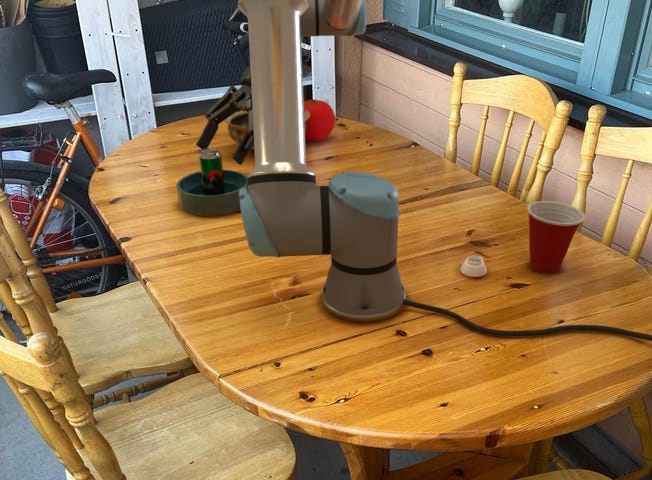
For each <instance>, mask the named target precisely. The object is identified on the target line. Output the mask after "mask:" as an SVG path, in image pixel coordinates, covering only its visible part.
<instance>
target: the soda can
mask: <svg viewBox="0 0 652 480" xmlns="http://www.w3.org/2000/svg"><path fill="white" fill-rule="evenodd" d="M199 153H200V154H199V156H198V160H199V167H200V171H201V175H202V183H203V190H204V195H220V194H225V184H224V175H223V169H224V167H223V158H222V154H221V152H220V150H219V149H218V148H215V147H208V148H207V149H203V150H202V149H201V150H200V152H199Z"/></svg>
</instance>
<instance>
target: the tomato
mask: <svg viewBox="0 0 652 480" xmlns="http://www.w3.org/2000/svg"><path fill="white" fill-rule="evenodd" d="M306 110H307V111H309V113H310V117H309V119H308V120H307V121H306V126H307V128H306V133H305V141H312V142H318V141H322V140H324V139H326V138H328V137H329V136H330V135H331V133H332V132H333V130H334V128H335V124H336V114H335V111H334V109H333V108H332V106H331V105H330V103H328V101H327V100H326V101H324V100H318V99H317V98H315V99H308V100H304V113H305V111H306Z"/></svg>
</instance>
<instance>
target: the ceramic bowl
mask: <svg viewBox="0 0 652 480" xmlns="http://www.w3.org/2000/svg"><path fill="white" fill-rule="evenodd" d="M309 117H310V113H309V111H307V110H306V111H305V113H304V123H305V133H306V128H307V126H306V121H307V120H308V119H309ZM223 122H224V123H226V124H227V133H228V136H229V137H230V138H231V140H233V142H235V143H237V144H238V145H240V143H241V141H242V139H243V137H244V136H245V134H246V133H247V134H249V133H248V132H249V116H248V112H247V111H240V112H235V113H234V114H233V115H231V116H230V117H228V118H227V119H225V120H224V121H223ZM247 131H248V132H247ZM249 135H250V134H249ZM251 150H253V152H254V153H255V147H254V146H253V147H252V149H251Z"/></svg>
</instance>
